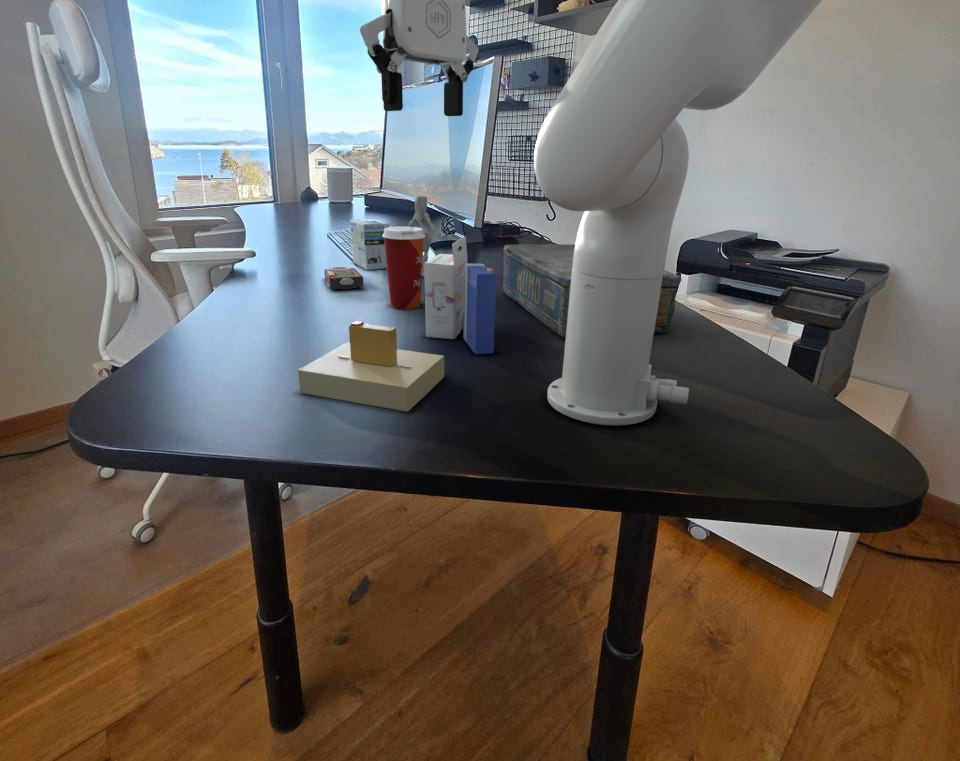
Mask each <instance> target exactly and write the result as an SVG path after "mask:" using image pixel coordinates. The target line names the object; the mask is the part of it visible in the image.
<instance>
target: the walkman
mask: <svg viewBox="0 0 960 761" xmlns="http://www.w3.org/2000/svg"><path fill="white" fill-rule="evenodd" d="M496 290H497V273H496V272H495V271H494V269H493V268H492V267H488V266H486V265H485V264H483V263H480V262H479V263H473V262H471V263H469V262H467V264H465V273H464V326H463V329H462V335H463V336H462V338H463V340H464V341H465V343H466V344H467V345H468V347H469V348H470V349H471V351H472V352H473V353H474V354H475V355H486V354H494V346H495V344H494V343H495V318H496V317H495V316H496Z"/></svg>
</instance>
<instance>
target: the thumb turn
mask: <svg viewBox="0 0 960 761" xmlns="http://www.w3.org/2000/svg"><path fill="white" fill-rule="evenodd" d="M348 335H349V342H350V352H351V361H355V362H362V363H369V364H375V365H382V366H388V367H392V366H394V365H395V364H396V363H397V349H398V347H397V346H398V343H397V342H398V340H397V327H396V326H388V325H387V326H386V325H379V324H371V323H364V321H361V320H355V321H352V322H351V323H350V324H349V325H348Z"/></svg>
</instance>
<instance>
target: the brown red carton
mask: <svg viewBox="0 0 960 761" xmlns="http://www.w3.org/2000/svg"><path fill="white" fill-rule="evenodd" d="M323 272H324V273H323V274H324V280H325V282H326V285H327V287H328V288H329V289H331V290H334V289H335V290H336V289H338V290H353V289H355V288H364V276H363V275H362V274H361V273H360V271H358V270H357V269H356V268H355V267H351V266H333V267H329V268H325V269H324V270H323Z"/></svg>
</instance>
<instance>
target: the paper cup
mask: <svg viewBox="0 0 960 761" xmlns="http://www.w3.org/2000/svg"><path fill="white" fill-rule="evenodd" d="M382 237H384V243H385V254H386V265H387V268H386V273H387V274H386V276H387V284H388V286H387V287H388V294H389V303H390V307H392V308H394V309H400V310H411V309H417V308H420V306H421V303H422V302H421V301H422V282H423V277H422V272H423V263H422V262H423V256H424V252H423V238H424V237H425V235H424V234H423V229H422V228H420V227H417V226H410V227H408V226H390V227H388V228H385V229H384V234H383V235H382Z"/></svg>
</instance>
